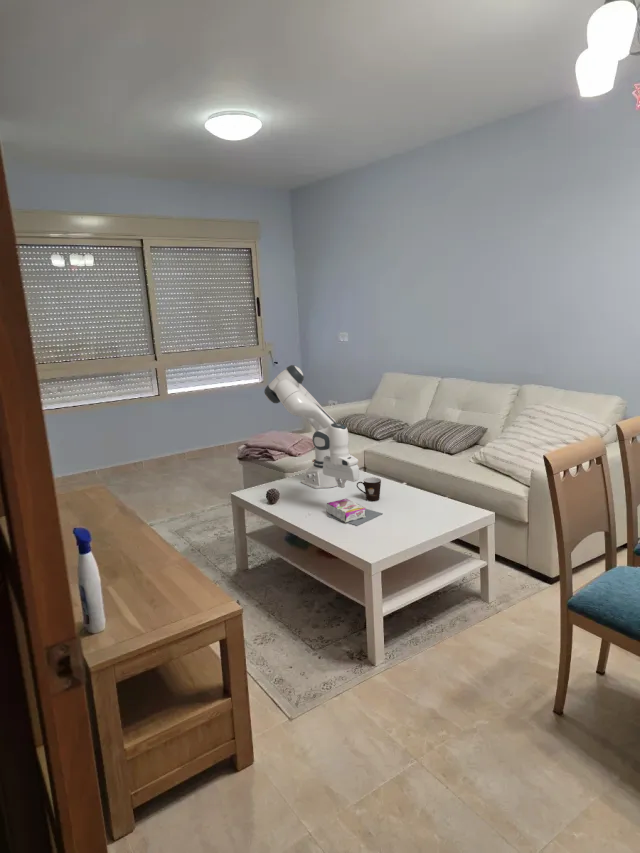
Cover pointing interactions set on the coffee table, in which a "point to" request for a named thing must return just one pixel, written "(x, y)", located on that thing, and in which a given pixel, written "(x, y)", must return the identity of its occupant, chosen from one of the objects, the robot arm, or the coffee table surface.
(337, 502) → the candy bar box
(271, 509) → the coffee table surface
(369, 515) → the mat
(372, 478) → the coffee mug
